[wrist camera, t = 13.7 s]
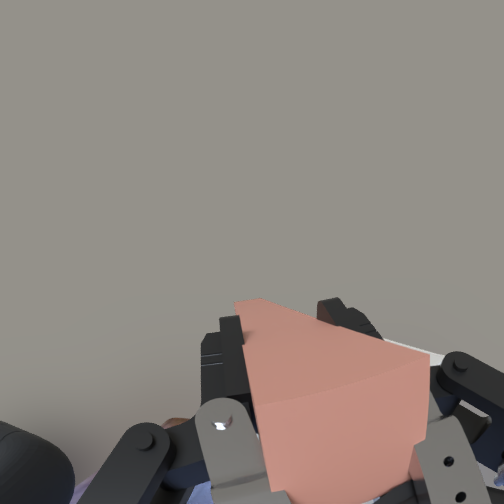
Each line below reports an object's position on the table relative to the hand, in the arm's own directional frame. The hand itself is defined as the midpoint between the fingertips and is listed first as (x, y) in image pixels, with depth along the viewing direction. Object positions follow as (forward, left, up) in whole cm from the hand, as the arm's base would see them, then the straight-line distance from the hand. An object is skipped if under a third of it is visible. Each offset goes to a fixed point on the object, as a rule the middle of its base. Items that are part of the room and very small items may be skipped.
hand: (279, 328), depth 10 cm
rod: (+8, 0, -3) cm, 8 cm away
